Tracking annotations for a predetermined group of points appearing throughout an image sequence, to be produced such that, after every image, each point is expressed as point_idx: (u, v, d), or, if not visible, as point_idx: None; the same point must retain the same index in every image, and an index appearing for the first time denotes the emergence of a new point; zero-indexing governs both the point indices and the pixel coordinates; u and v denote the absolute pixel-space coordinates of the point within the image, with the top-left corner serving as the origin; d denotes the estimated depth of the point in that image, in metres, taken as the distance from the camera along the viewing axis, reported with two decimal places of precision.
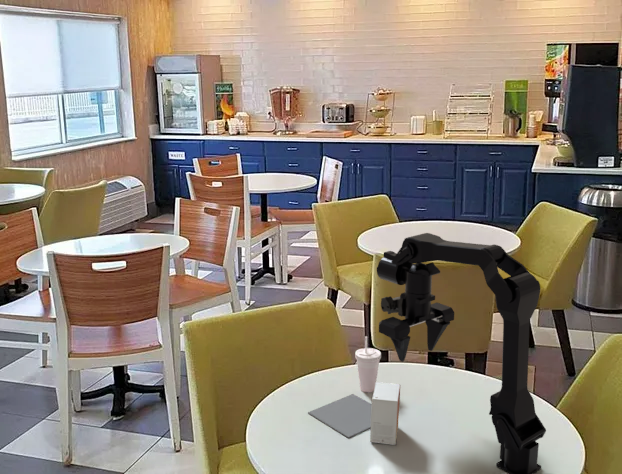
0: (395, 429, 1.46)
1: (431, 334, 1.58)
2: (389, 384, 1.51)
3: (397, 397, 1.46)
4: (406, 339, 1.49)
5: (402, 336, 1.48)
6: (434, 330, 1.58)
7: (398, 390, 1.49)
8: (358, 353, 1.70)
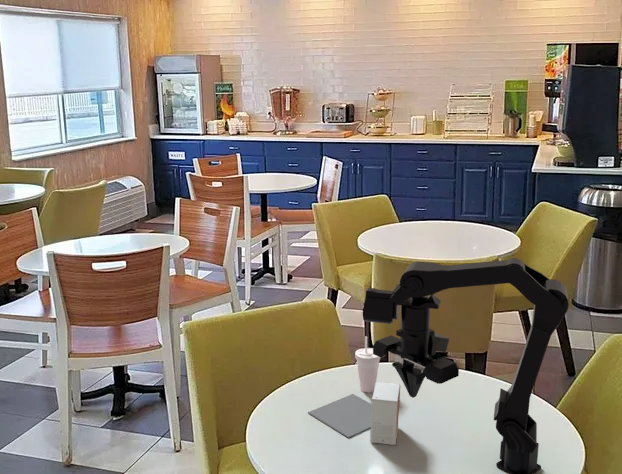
0: (395, 429, 1.46)
1: None
2: (389, 384, 1.51)
3: (397, 397, 1.46)
4: (397, 368, 1.40)
5: (376, 353, 1.44)
6: None
7: (398, 390, 1.49)
8: (358, 353, 1.70)
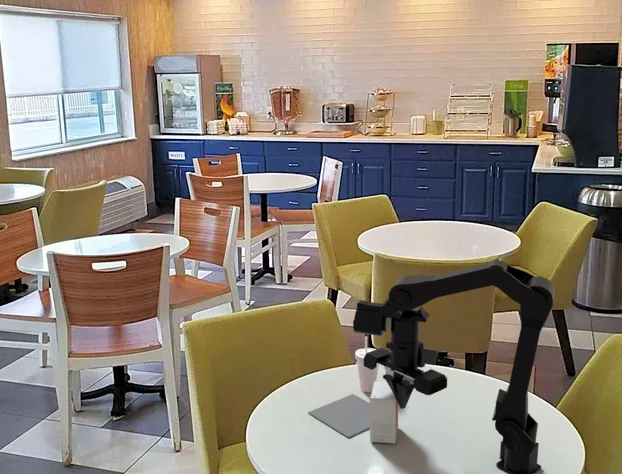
0: (394, 427, 1.46)
1: None
2: (387, 383, 1.52)
3: None
4: (387, 380, 1.43)
5: (367, 366, 1.47)
6: None
7: None
8: (358, 353, 1.70)
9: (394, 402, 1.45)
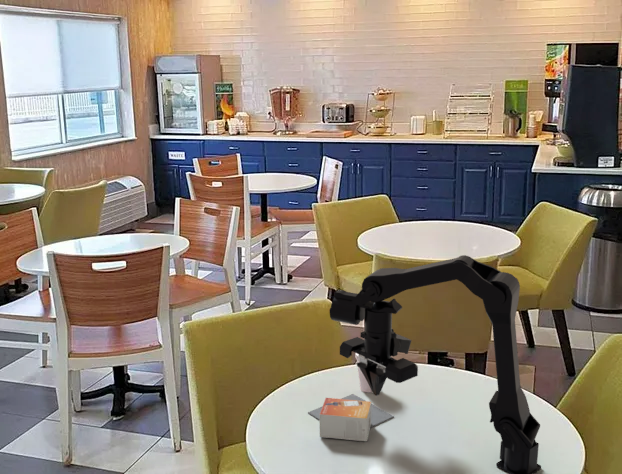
0: (349, 418, 1.48)
1: None
2: None
3: None
4: (361, 367, 1.49)
5: (342, 354, 1.53)
6: None
7: (323, 404, 1.54)
8: None
9: (322, 416, 1.49)
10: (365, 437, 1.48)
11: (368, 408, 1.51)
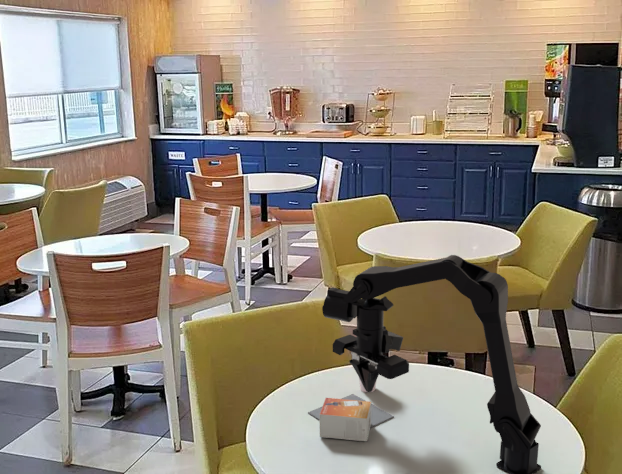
0: (349, 418, 1.48)
1: None
2: None
3: None
4: (353, 364, 1.51)
5: (335, 351, 1.55)
6: None
7: (323, 404, 1.54)
8: None
9: (322, 416, 1.49)
10: (365, 437, 1.48)
11: (368, 408, 1.51)
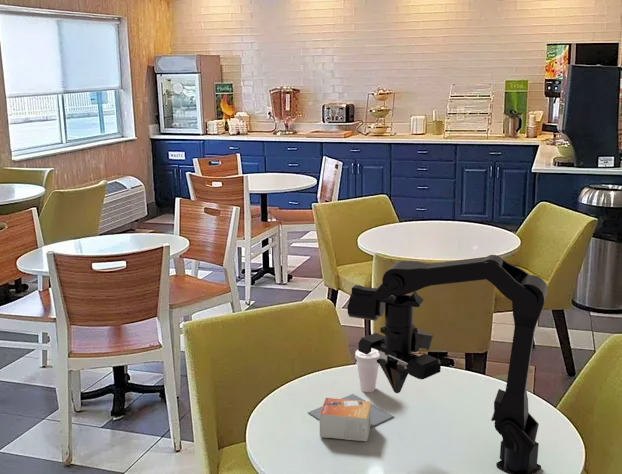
0: (349, 418, 1.48)
1: None
2: None
3: None
4: (381, 364, 1.44)
5: (361, 350, 1.48)
6: None
7: (323, 404, 1.54)
8: (358, 353, 1.70)
9: (322, 416, 1.49)
10: (365, 437, 1.48)
11: (368, 408, 1.51)
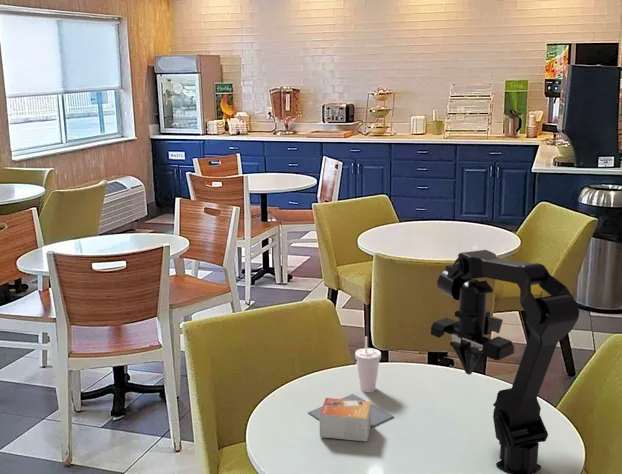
0: (349, 418, 1.48)
1: None
2: None
3: None
4: (454, 346, 1.51)
5: (434, 334, 1.55)
6: None
7: (323, 404, 1.54)
8: (358, 353, 1.70)
9: (322, 416, 1.49)
10: (365, 437, 1.48)
11: (368, 408, 1.51)
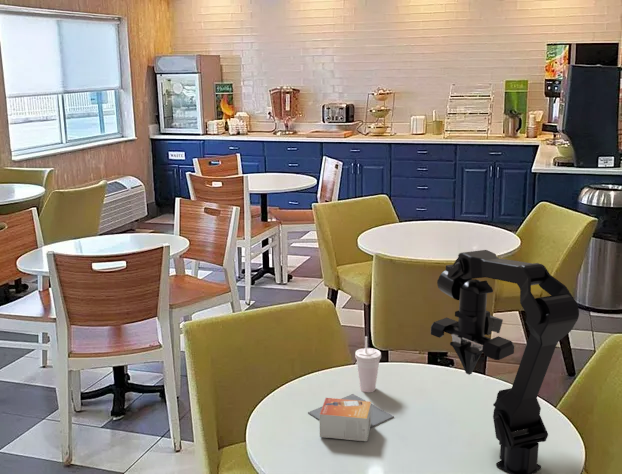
0: (349, 418, 1.48)
1: None
2: None
3: None
4: (455, 346, 1.51)
5: (434, 334, 1.55)
6: None
7: (323, 404, 1.54)
8: (358, 353, 1.70)
9: (322, 416, 1.49)
10: (365, 437, 1.48)
11: (368, 408, 1.51)
